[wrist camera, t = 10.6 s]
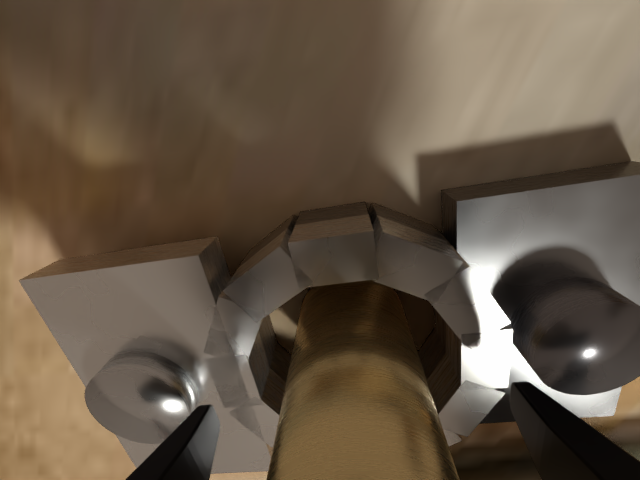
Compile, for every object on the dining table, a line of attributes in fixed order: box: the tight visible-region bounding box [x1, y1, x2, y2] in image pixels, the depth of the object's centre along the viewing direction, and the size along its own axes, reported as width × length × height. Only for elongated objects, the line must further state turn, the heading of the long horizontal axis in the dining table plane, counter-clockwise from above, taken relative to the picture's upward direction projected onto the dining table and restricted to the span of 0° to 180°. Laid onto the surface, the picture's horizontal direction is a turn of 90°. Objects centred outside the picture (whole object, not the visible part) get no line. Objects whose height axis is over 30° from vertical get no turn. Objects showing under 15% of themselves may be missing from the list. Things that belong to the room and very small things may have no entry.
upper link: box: [19, 214, 513, 474], centre depth 11 cm, size 15×10×4 cm, turn 100°
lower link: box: [238, 161, 640, 424], centre depth 11 cm, size 15×10×3 cm, turn 100°
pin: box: [267, 280, 460, 480], centre depth 9 cm, size 4×4×9 cm
